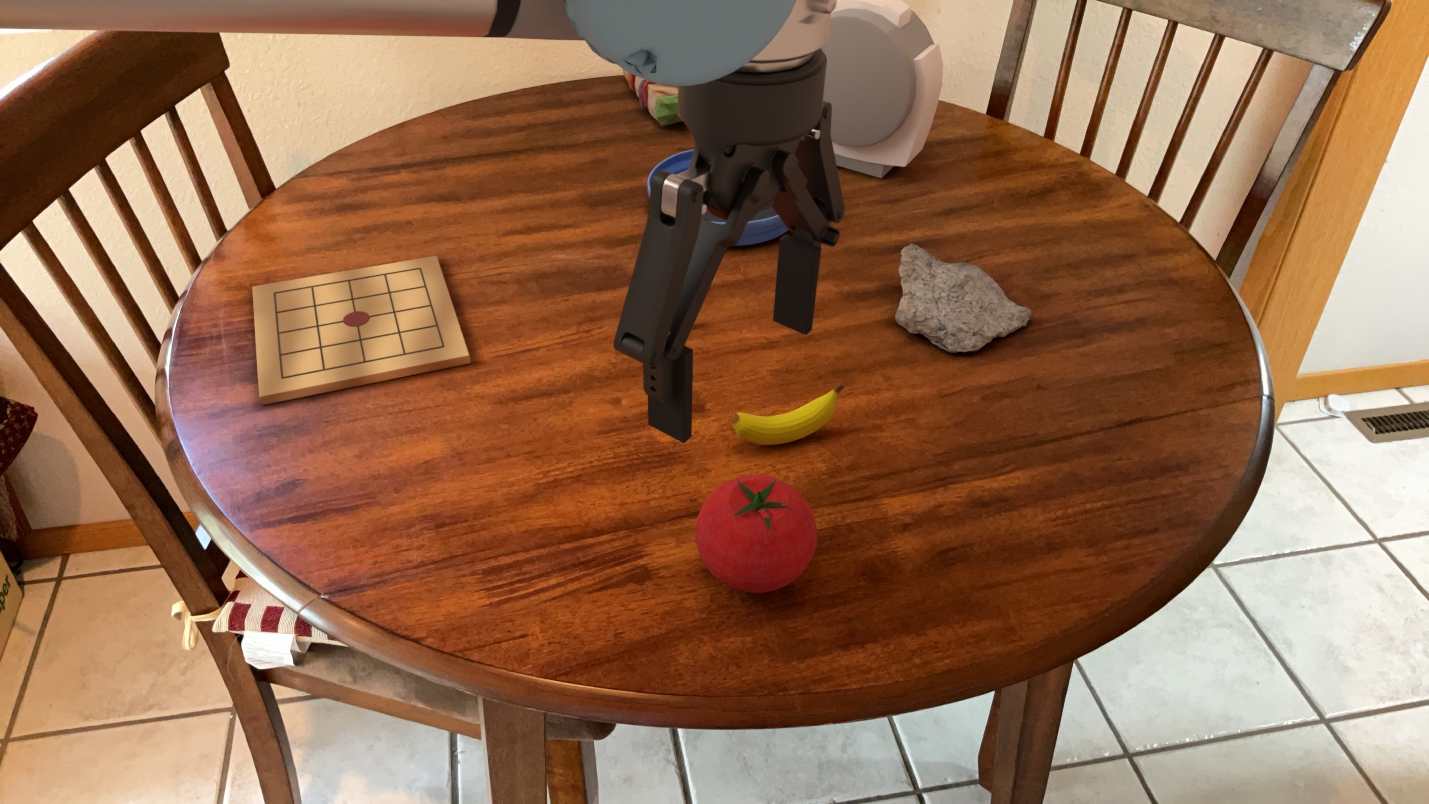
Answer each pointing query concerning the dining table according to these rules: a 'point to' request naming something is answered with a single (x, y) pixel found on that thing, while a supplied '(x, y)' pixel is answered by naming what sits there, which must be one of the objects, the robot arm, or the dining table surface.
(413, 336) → the board
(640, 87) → the skewer
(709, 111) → the robot arm
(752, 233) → the bowl
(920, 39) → the alarm clock
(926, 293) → the rock
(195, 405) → the dining table surface
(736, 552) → the tomato
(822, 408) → the fruit
